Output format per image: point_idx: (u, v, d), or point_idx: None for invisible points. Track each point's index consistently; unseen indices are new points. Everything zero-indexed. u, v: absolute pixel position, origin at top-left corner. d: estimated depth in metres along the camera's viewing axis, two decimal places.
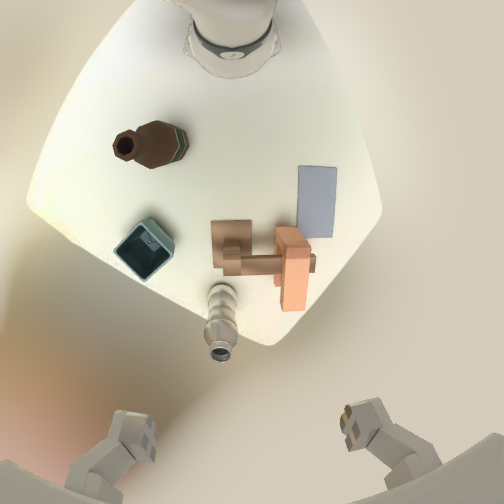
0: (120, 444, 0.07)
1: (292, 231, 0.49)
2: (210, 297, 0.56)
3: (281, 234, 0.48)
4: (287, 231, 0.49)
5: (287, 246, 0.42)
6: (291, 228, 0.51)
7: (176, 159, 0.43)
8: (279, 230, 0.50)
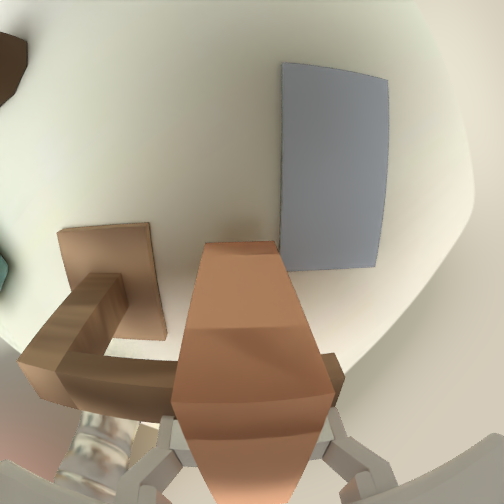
0: (172, 451, 0.07)
1: (254, 263, 0.13)
2: None
3: (203, 280, 0.11)
4: (235, 263, 0.13)
5: (183, 388, 0.06)
6: (255, 249, 0.15)
7: None
8: (207, 259, 0.14)
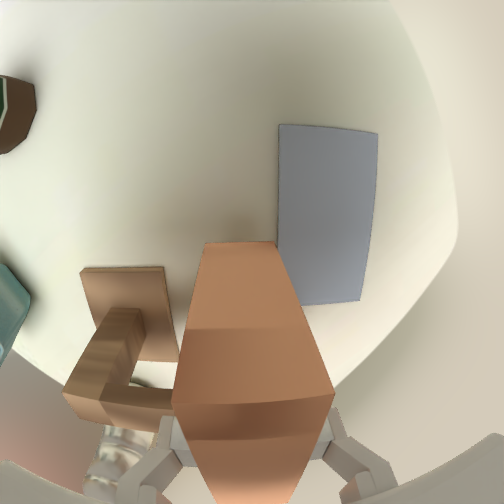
0: (172, 451, 0.07)
1: (254, 264, 0.13)
2: None
3: (203, 281, 0.11)
4: (235, 264, 0.13)
5: (183, 389, 0.06)
6: (255, 249, 0.15)
7: None
8: (207, 259, 0.14)
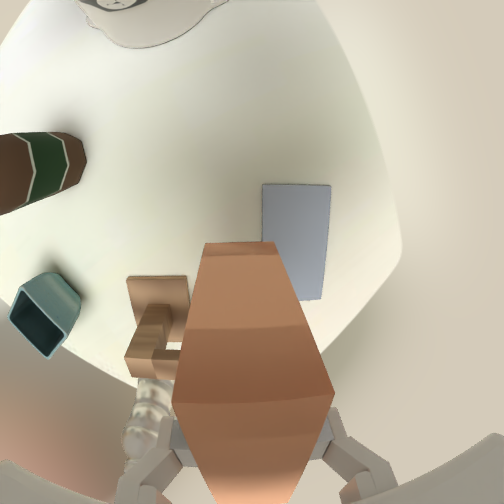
0: (172, 451, 0.07)
1: (254, 264, 0.13)
2: (139, 380, 0.34)
3: (203, 281, 0.11)
4: (235, 264, 0.13)
5: (183, 389, 0.06)
6: (255, 249, 0.15)
7: (50, 190, 0.22)
8: (207, 259, 0.14)
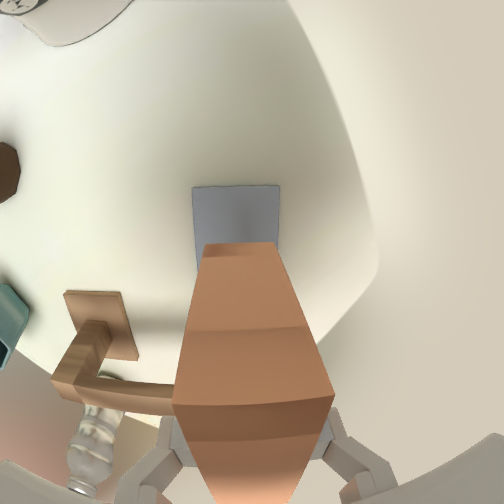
0: (172, 451, 0.07)
1: (254, 265, 0.13)
2: None
3: (203, 282, 0.11)
4: (235, 265, 0.13)
5: (183, 390, 0.06)
6: (255, 250, 0.15)
7: None
8: (207, 260, 0.14)
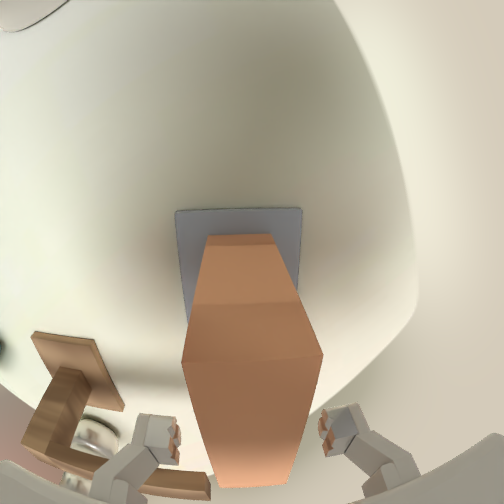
0: (146, 448, 0.07)
1: (253, 252, 0.14)
2: None
3: (207, 266, 0.13)
4: (235, 252, 0.14)
5: (192, 351, 0.07)
6: (254, 240, 0.16)
7: None
8: (210, 248, 0.15)
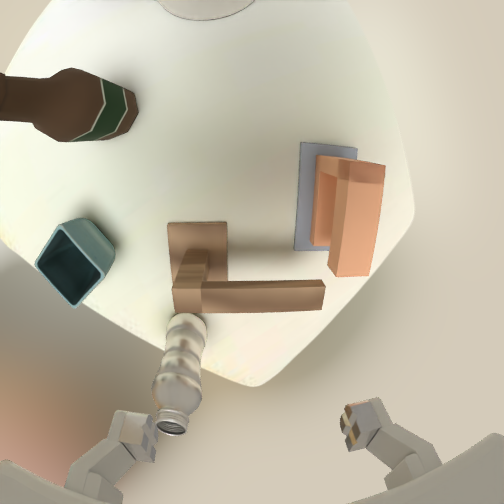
0: (120, 444, 0.07)
1: None
2: (168, 331, 0.38)
3: (330, 157, 0.29)
4: (336, 157, 0.30)
5: (350, 160, 0.24)
6: (339, 157, 0.32)
7: (109, 128, 0.24)
8: None
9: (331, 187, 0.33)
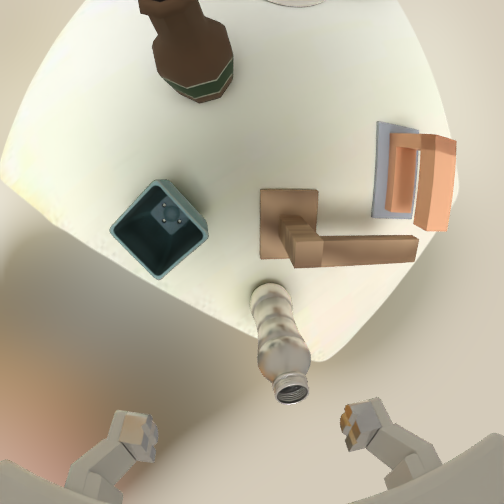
0: (120, 444, 0.07)
1: None
2: (256, 302, 0.38)
3: None
4: None
5: None
6: None
7: (220, 85, 0.25)
8: None
9: (404, 160, 0.34)
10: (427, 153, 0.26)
